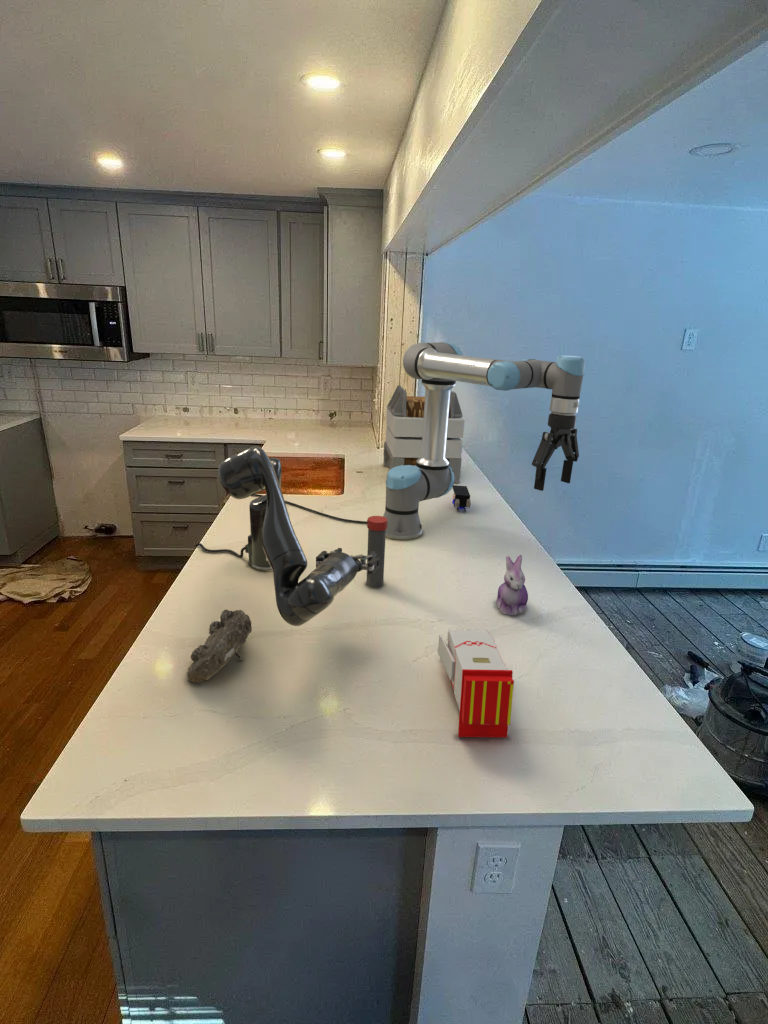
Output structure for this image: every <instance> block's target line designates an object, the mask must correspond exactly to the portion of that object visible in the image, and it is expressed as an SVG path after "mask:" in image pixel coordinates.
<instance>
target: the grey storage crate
mask: <svg viewBox="0 0 768 1024" xmlns="http://www.w3.org/2000/svg"><path fill="white" fill-rule="evenodd" d="M407 394H408V393H407V390H406V389H404V388H403V387H402V385H399V384H398V385H397V386H396V388H395V390H394V392H393V394H392V395H391V398H390V400H389V402H388V404H387V405H386V413H385V414H386V415H385V423H386V428H385V438H384V442H383V466H384V467H388V468H389V470H390V469H392V468H394V467H396V466H401V465H404V466H405V465H413V466H416V461H417V459H418V458H420V457H421V449H422V434H423V419H424V404H425V396H415V395H414V396H413V395H412V396H411V395H407ZM464 429H465V419H464V418H463V411H462V408H461V405H460V402H459V398H458V395H457V392H455V391H453V390H451V392H450V404H449V416H448V428H447V441H446V453H445V458H446V459H447V461H448V462H449V466H450V467H451V469H452V473H454V484H455V483H456V484H459V483H461V472H462V461H463V460H462V453H463V442H464V441H463V440H462V439H463V438H464V431H465V430H464Z"/></svg>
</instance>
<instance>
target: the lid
mask: <svg viewBox="0 0 768 1024" xmlns="http://www.w3.org/2000/svg"><path fill="white" fill-rule="evenodd" d="M366 521H367V524H366V527H367V530H368V529H370V530H373V531H383V530H386V529H387V525H388V522H387V518H385V517H383V515H371V516H368V517H367V520H366Z"/></svg>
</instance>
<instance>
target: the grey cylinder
mask: <svg viewBox="0 0 768 1024" xmlns="http://www.w3.org/2000/svg"><path fill="white" fill-rule="evenodd" d="M367 531H368V532H367V555H369V554H370V553H371V552H372V551H375V553H376V554H377V556H378V557H380V563H379V568H378V569H377V570H376V571H375V572H374V573H372V574H368V573H367V572H366V583H365V584H366V586H367V587H368V588H371V589H380V588H382V587H383V586H384V576H385V559H386V557H385V555H386V538H387V537H386V530H383V531H373V530H370V529H368V528H367ZM367 555H366V556H367ZM367 561H368V559H366V562H367Z"/></svg>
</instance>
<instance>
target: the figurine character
mask: <svg viewBox="0 0 768 1024" xmlns="http://www.w3.org/2000/svg"><path fill="white" fill-rule="evenodd" d="M452 490H453V494H452V501H451V503H452V504H453V507H454V508H456V511H457V512H460V510H463V511H464V513H466V512H467V509H470V508H471V505H472V504H471V501H472V500H471V494H470V491H469V488H468V486H467V485H456V484H453V487H452ZM466 508H467V509H466Z"/></svg>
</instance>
